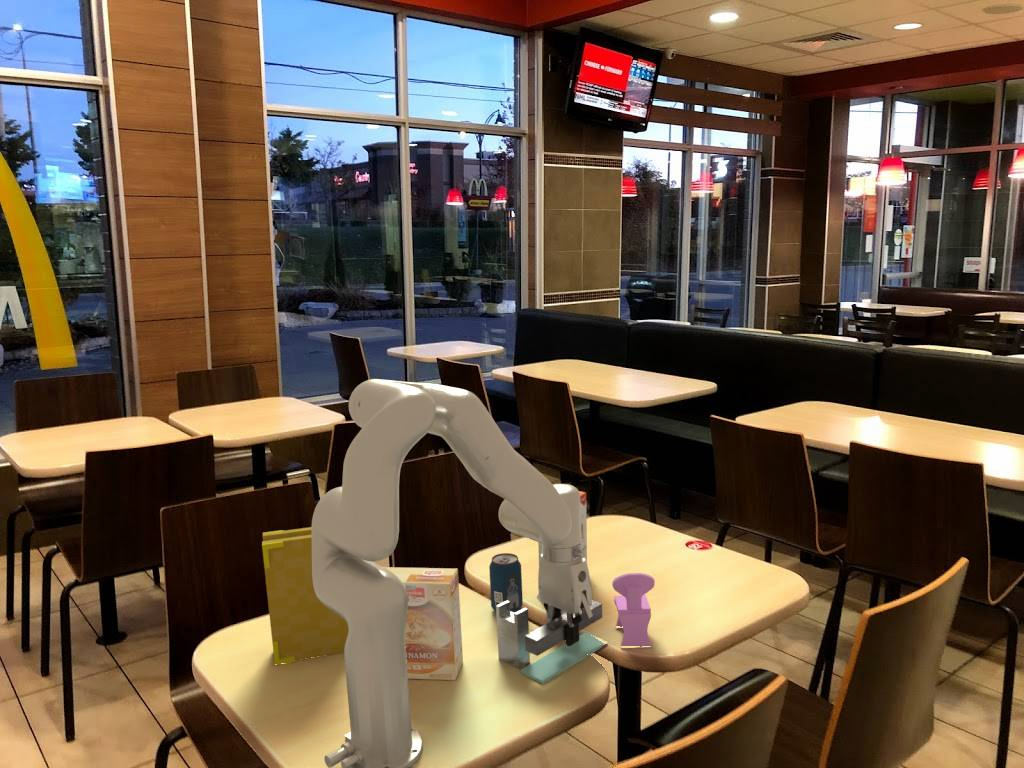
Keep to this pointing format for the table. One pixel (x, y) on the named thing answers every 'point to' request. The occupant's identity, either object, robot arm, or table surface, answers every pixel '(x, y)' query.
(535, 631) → the rail
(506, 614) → the post near arm
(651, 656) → the table surface
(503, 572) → the soda can
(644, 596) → the toy chair
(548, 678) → the mat
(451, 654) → the coffeecake box
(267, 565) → the book
